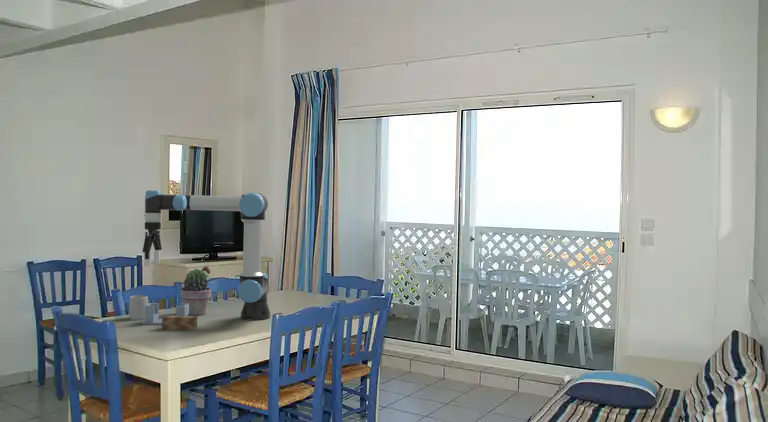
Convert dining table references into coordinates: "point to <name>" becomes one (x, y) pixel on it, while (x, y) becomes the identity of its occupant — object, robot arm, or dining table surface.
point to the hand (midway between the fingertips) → (152, 264)
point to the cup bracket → (153, 313)
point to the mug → (137, 307)
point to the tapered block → (179, 323)
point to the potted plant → (196, 291)
